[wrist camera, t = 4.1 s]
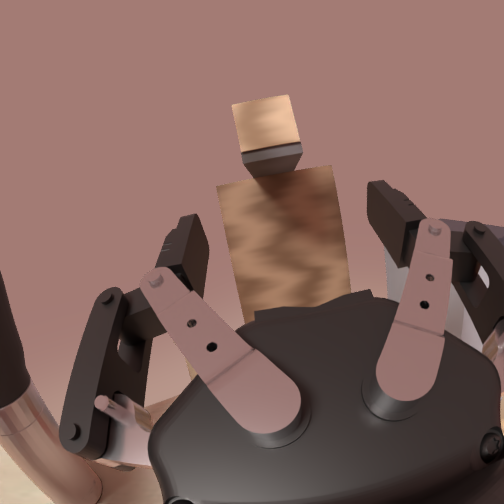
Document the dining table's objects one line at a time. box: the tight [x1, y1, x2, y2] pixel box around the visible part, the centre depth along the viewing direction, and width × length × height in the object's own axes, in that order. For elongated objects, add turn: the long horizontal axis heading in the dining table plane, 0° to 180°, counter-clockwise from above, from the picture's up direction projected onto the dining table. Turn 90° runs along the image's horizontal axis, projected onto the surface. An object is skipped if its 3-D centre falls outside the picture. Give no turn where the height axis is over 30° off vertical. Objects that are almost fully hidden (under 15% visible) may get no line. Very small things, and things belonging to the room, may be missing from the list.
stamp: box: [232, 95, 303, 178], centre depth 28 cm, size 4×22×6 cm, turn 175°
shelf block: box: [216, 165, 351, 324], centre depth 35 cm, size 12×13×32 cm
